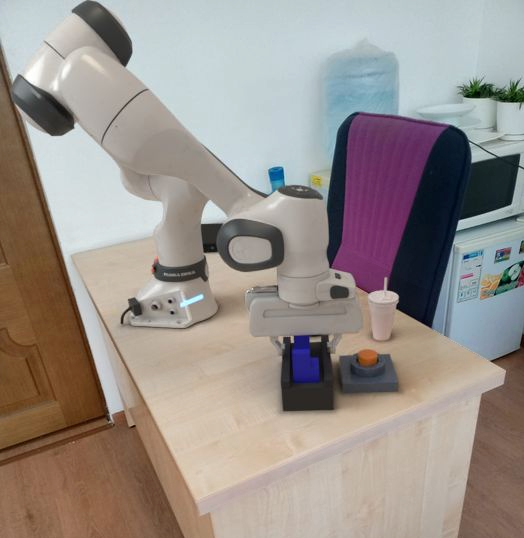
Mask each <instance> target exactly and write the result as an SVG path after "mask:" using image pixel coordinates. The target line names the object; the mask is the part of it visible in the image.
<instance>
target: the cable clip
mask: <svg viewBox="0 0 524 538" xmlns="http://www.w3.org/2000/svg"><path fill="white" fill-rule="evenodd" d="M310 339H311V337H310V336H309V335H297V336H293V343H294V350H292V360H293V378H294V383H319V360H318V357H315V358H310V342H311V340H310Z"/></svg>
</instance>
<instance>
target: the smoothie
mask: <svg viewBox="0 0 524 538" xmlns="http://www.w3.org/2000/svg"><path fill="white" fill-rule="evenodd" d="M399 299H400V296H399V295H398V293H397V292H394V291H391V290H388V277H386V276H385V277H384V281H383V289H381V290H374V291H372V292H370V293H369V294H368V295H367V303H368V305H369V313H370V323H371V330H372V332H371V333H372V338H373V339H374V340H377V341H388V340H389V339H391V334H392V329H393V324H394V320H395V315H396V310H397V304H398V303H399V302H400V301H399Z"/></svg>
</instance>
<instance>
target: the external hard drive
mask: <svg viewBox="0 0 524 538" xmlns="http://www.w3.org/2000/svg"><path fill="white" fill-rule="evenodd" d="M223 224H224V222H220V223H219V222H218V223H217V222H216V223H215V222H214V223H201V236H202V244H203V252H204V253H218V250H217V243H216V241H217V235H218V232H219V230H220V228H221V227H222V225H223Z"/></svg>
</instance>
